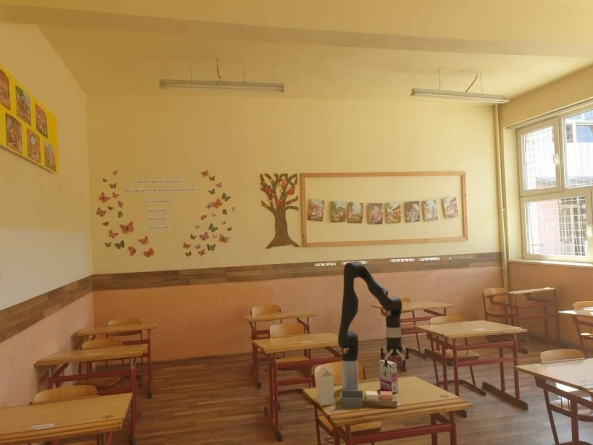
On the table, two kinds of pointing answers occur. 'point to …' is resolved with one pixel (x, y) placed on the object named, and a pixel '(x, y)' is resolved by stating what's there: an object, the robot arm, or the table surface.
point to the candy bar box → (388, 376)
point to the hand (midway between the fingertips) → (395, 367)
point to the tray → (351, 398)
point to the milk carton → (325, 387)
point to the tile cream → (372, 395)
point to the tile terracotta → (386, 395)
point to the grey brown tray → (379, 402)
